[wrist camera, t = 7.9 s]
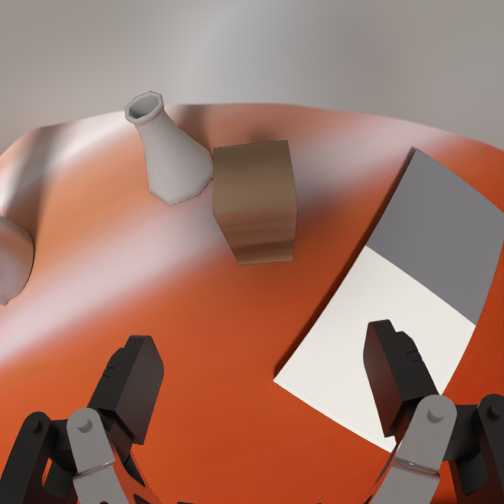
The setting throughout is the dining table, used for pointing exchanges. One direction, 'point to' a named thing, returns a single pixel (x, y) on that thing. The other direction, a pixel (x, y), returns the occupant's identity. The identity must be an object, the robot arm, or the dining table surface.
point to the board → (403, 294)
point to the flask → (169, 152)
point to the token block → (256, 201)
